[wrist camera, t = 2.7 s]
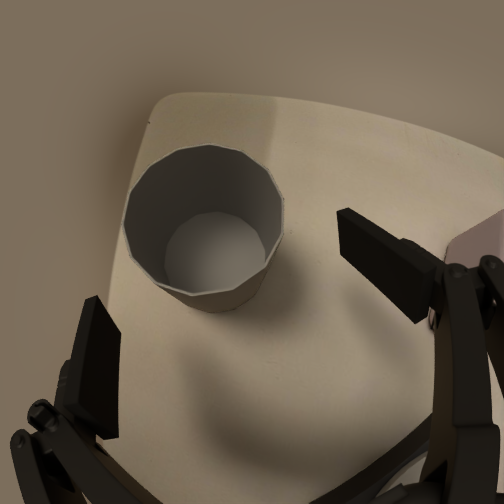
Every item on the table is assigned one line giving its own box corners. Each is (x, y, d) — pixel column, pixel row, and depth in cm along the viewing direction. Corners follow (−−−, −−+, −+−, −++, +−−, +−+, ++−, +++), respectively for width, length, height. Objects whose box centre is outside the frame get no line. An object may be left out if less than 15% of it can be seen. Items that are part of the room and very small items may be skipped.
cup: (151, 293, 23) (98, 263, 14) (183, 203, 26) (158, 132, 16) (251, 325, 23) (261, 316, 13) (277, 229, 25) (300, 165, 16)
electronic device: (444, 236, 26) (508, 196, 16) (473, 256, 26) (537, 225, 16) (419, 326, 23) (496, 314, 14) (451, 344, 23) (526, 337, 13)
